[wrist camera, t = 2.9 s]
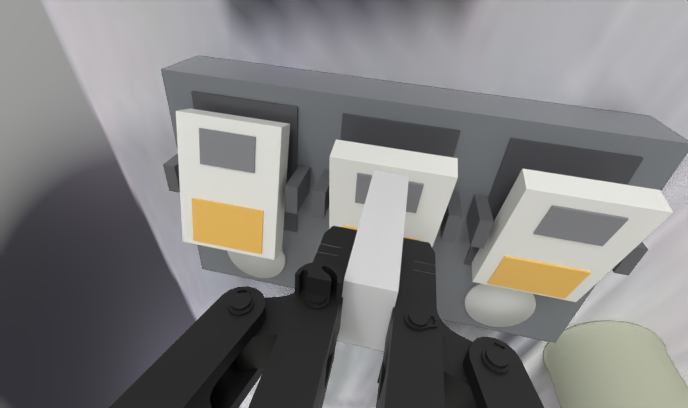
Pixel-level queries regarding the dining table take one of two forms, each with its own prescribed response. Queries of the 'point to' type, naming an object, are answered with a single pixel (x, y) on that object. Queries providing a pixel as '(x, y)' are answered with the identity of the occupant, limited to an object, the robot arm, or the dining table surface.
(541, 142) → the rocker switch panel
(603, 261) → the rocker
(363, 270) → the robot arm
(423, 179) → the rocker middle
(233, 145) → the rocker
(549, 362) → the can
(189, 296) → the dining table surface
